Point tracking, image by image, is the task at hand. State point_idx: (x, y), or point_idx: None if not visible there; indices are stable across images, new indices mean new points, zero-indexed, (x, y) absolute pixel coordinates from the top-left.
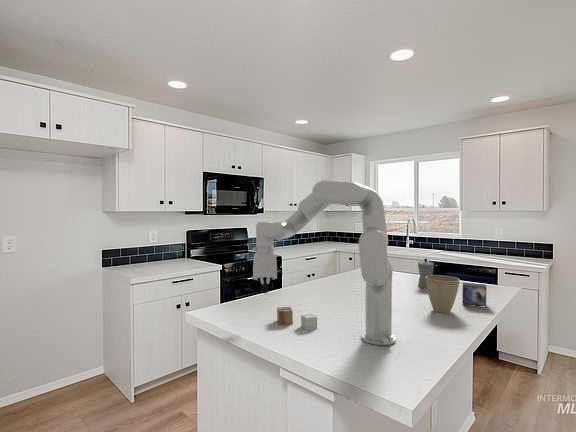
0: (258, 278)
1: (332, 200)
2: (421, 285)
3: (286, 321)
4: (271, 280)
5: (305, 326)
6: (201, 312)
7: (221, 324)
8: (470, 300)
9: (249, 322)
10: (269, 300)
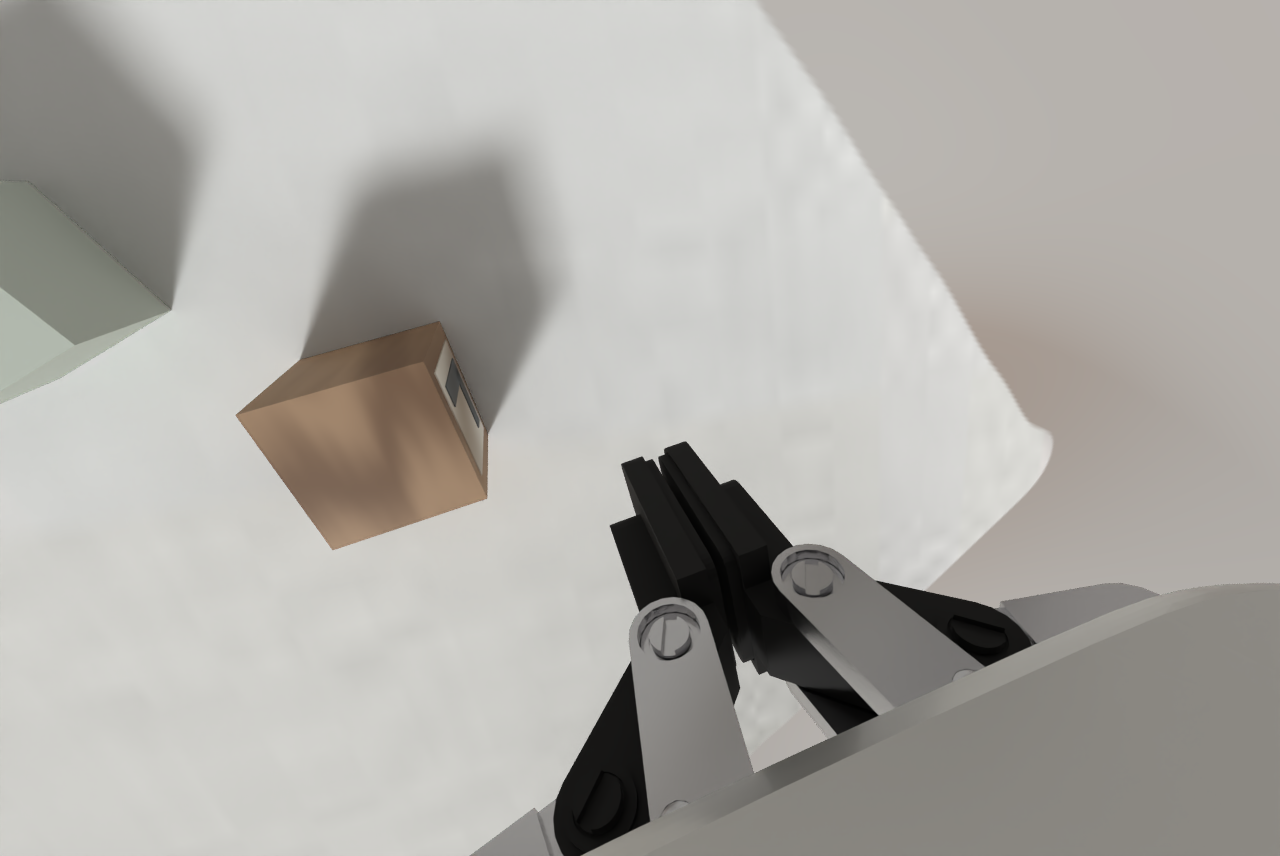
0: (1009, 652)
1: None
2: None
3: (355, 352)
4: (582, 749)
5: (26, 211)
6: (995, 486)
7: (897, 291)
8: None
9: (707, 359)
10: None
